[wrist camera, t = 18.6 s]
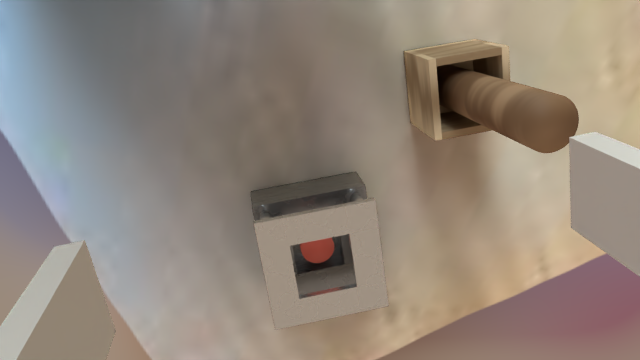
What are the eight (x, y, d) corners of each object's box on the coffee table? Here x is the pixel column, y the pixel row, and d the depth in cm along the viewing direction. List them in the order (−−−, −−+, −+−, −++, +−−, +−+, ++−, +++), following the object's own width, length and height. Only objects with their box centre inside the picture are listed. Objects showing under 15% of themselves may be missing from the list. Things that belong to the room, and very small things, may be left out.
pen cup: (403, 51, 51) (428, 59, 45) (474, 38, 52) (508, 45, 45) (410, 122, 53) (435, 141, 47) (478, 110, 54) (511, 126, 47)
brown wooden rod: (423, 68, 51) (521, 100, 34) (462, 61, 51) (578, 89, 34) (427, 107, 52) (524, 158, 35) (465, 100, 52) (579, 146, 35)
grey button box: (250, 191, 53) (253, 223, 46) (355, 171, 54) (375, 200, 47) (269, 285, 56) (275, 330, 49) (368, 265, 57) (388, 305, 50)
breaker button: (296, 227, 53) (298, 235, 51) (328, 220, 53) (331, 229, 51) (301, 256, 54) (303, 265, 52) (332, 249, 54) (336, 259, 52)
